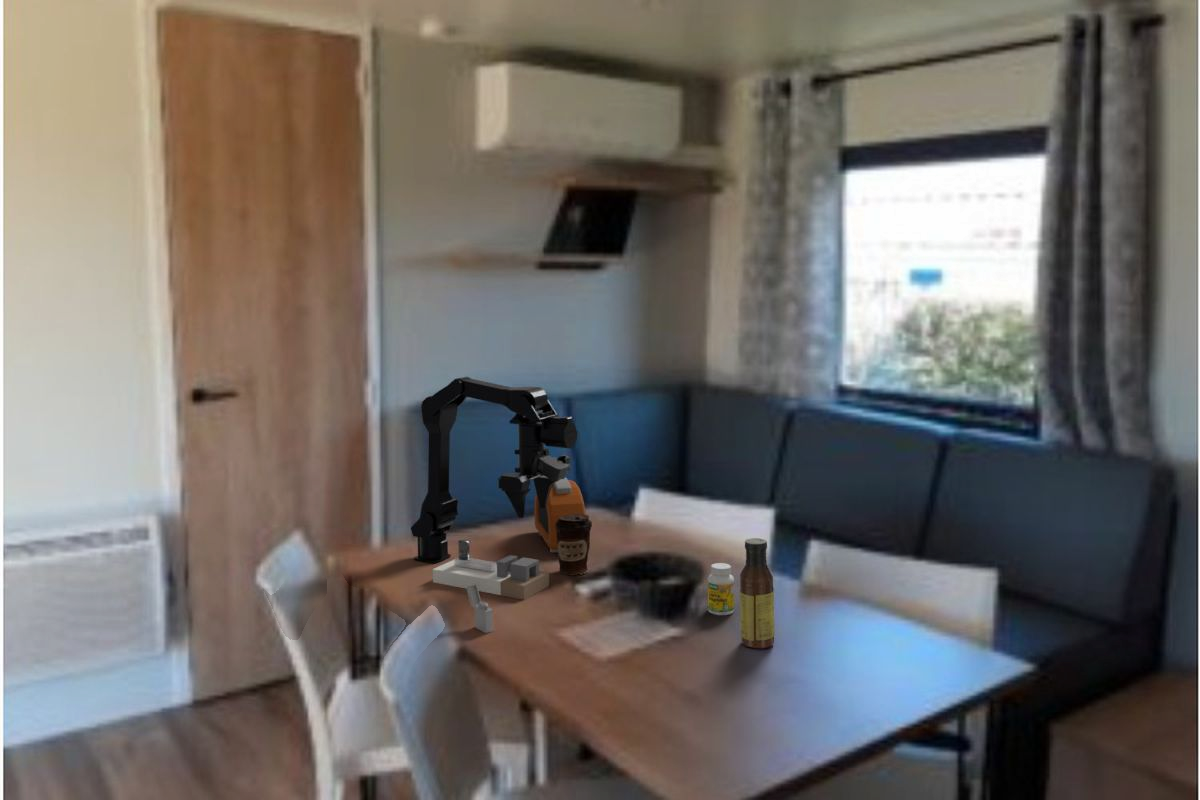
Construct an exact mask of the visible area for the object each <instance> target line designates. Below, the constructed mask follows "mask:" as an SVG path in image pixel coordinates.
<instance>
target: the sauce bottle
mask: <svg viewBox="0 0 1200 800" xmlns="http://www.w3.org/2000/svg"><path fill="white" fill-rule="evenodd" d="M744 549H745V558H746V559H745V565H744V567H743V568H742V570H741V572H740V575H739V579H740V580H739V583H740V584H739V587H740V588H739V589H740V590H739V598H740V599H739V600H740V601H739V603H740V605H739V607H740V608H739V610H740V636H741V642H742V644H743V645H744V646H745V647H748V648H752V649H755V650H756V649H759V650H760V649H762V650H763V649H768V648H771V647H772V646H773V645H774V642H775V633H776V632H775V592H774V591H775V588H774V577H773V575H772V573H771V571H770V569H769V565H768V564H767V562H768V561H767V560H768V559H767V549H768V542H767V540H766V539H763V538H758V537H753V538H747V539H745V540H744Z"/></svg>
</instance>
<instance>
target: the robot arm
mask: <svg viewBox="0 0 1200 800" xmlns="http://www.w3.org/2000/svg"><path fill="white" fill-rule="evenodd" d="M468 398H471V399H475V400H479V401H484V402H488V403H493V404H496V405H500V406H504V407H505V408H507V409H508V410H509V411H511V412H513V413H515V415H514V416H513V417H512V418H511V419H510V420H509V424H511V425H512V424H513V425H517V434H518V439H517V440H518V442H517V443H518V448H515V449H514V455H518V466H516V467H514V472H508V473H505V474H502V475H500V476H499V477H498V478H497V488H498V489H501V492H504V494H505V495H506V497H507V499H508V501H510V504H511V506H512V507H513V509H514V511H515V513H516V515H517V517H518V518H519V519H524V517H525V510H526V508H525V506H526V497H527V494H528V493H529V492H530V491H531V490H532V489H531V488H530V485H531V481H532V480H533V484H534V488H535V494H536V493H537V497H538V501H539V505H540V508H542V509H545V508H546V504H547V501H548V498H549V494H550V491H551V488H552V486H553V484H554V483H555V482H557V481H559V480H561V479H565V477H566V475H567V473H568V472H569V471H571V462H570V461H571V460H570V456H567V455H566V454H562V455H560V456H559V457H556V456H551V455H550V450H549V448H547V447H552V448H560V449H561V448H562V449H572V448H574V447H575V445H576V443H577V440H578V430H577V426H576V425H575V423H574V422H573V417H572V416H559V414H558V412H557V411H556V409H554V407H553V404H551V402H550V400H549V399H548V395H547V392H546V391H545V389H544V388H543V387H540V386H516V387H515V386H514V387H512V386H507V385H502V384H497V383H493V382H488V381H484V380H479V379H474V378H472V377H469V376H462V377H458V378H457V377H456V378H454V379H453V380H451V382H450V383H448V385H446V386H444V387H443V388H442V389H439V390H438V391H437V392H435V393H433V394H432V395H430V396H427V397H426V398H425V399H423V400H422V401H421V404H420V410H421V419H422V423H423V425H424V426H425V429H426V430H427V432H428V449H427V450H428V453H427V455H428V456H427V457H428V458H427V459H428V461H427V464H428V466H427V493H426V495H425V497H424V499H423V501H422V503H421V505H420V506H421V507H420V513H419V518H418V519H417V520H416V522H414V524H412V526H411V527H410V530H411V534H412V537H414V538H415V537H416V538H417V555H415V556H414V557H413V560H414V561H415V560H416V561H419V562H420V561H421V562H426V563H432V564H436V563H439V562H441V561H443V560H445V559H446V560H447V559H448V558H450V557H451V556H452V554H451V553H449V547H448V545H449V544H448V542H449V541H448V539H447V533H446V532H448V531H450V530H451V528H452V525H453V523H454V522H456V521H455V520H456V518H457V516H459V511H458V503H459V501H458V498H453V496H452V495H451V493H450V447H451V446H450V441H451V440H450V439H451V430H452V429H453V427H454V424H455V422H456V420H457V415H458V408H459V407H460V406H461V405H462V404H464V403H465V401H466V400H467V399H468ZM545 446H546V447H545Z"/></svg>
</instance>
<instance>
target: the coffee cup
mask: <svg viewBox="0 0 1200 800" xmlns="http://www.w3.org/2000/svg"><path fill="white" fill-rule="evenodd" d="M555 526H556V533H557V546H558V552H557V554H558V558H557V559H558V563H559V564H558V565H559V572H560V573H561V574H563V575H566V576H567V575H568V576H569V575H570V576H577V575H578V574H580V575H584V574H587V573H588V570H589V569H588V560H589V559H588V557H589V551H590V545H591V543H590V539H591V529H592V526H593V521H592V520H591V519H590V516H589V515H588V514H586V515H584V514H567V515H564V516H560V517H559V520H558V521H557V522H556V525H555ZM586 572H587V573H586ZM583 573H584V574H583ZM578 576H579V575H578Z"/></svg>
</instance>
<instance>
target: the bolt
mask: <svg viewBox="0 0 1200 800" xmlns="http://www.w3.org/2000/svg"><path fill="white" fill-rule="evenodd" d="M457 541H458V556H456V557H454V558H453V560H454V565H455V566H461V567H466V568H472V569H477V570H483V571H489V572H493V571H495V570H497V561H491V560H490V561H489V560H483V559H479V558H472V557H470V556H471V554H470V552H471V550H470V540H469V539H460V540H457Z"/></svg>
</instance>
